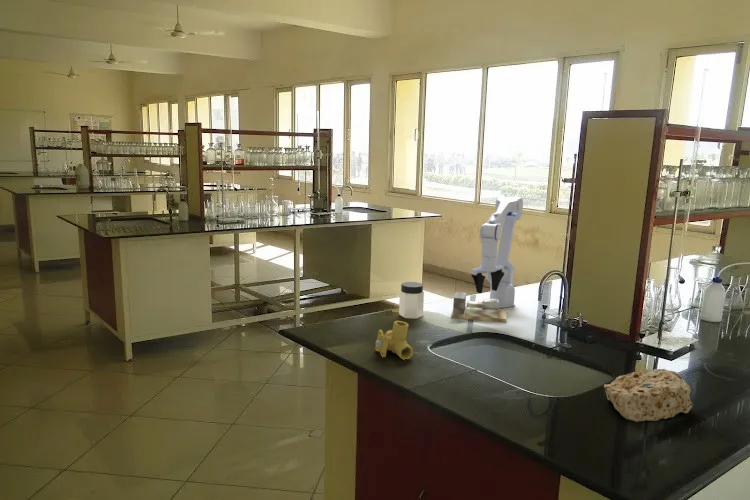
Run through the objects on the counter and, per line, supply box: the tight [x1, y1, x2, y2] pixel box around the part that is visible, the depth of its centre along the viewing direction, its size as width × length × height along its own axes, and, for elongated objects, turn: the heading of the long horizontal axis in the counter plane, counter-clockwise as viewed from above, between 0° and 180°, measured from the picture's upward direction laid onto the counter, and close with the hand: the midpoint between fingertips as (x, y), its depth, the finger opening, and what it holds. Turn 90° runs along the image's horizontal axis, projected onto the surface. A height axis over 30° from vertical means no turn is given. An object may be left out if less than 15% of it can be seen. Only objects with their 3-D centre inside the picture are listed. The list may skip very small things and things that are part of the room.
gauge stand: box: [450, 291, 507, 323], centre depth 211 cm, size 20×12×7 cm, turn 77°
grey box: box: [481, 297, 500, 310], centre depth 209 cm, size 6×8×5 cm
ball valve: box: [375, 320, 414, 361], centre depth 170 cm, size 13×10×10 cm
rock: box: [603, 368, 694, 423], centre depth 138 cm, size 21×14×10 cm
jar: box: [398, 281, 425, 320], centre depth 209 cm, size 9×8×12 cm
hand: (486, 291), depth 209 cm, fingers open, 7 cm apart
